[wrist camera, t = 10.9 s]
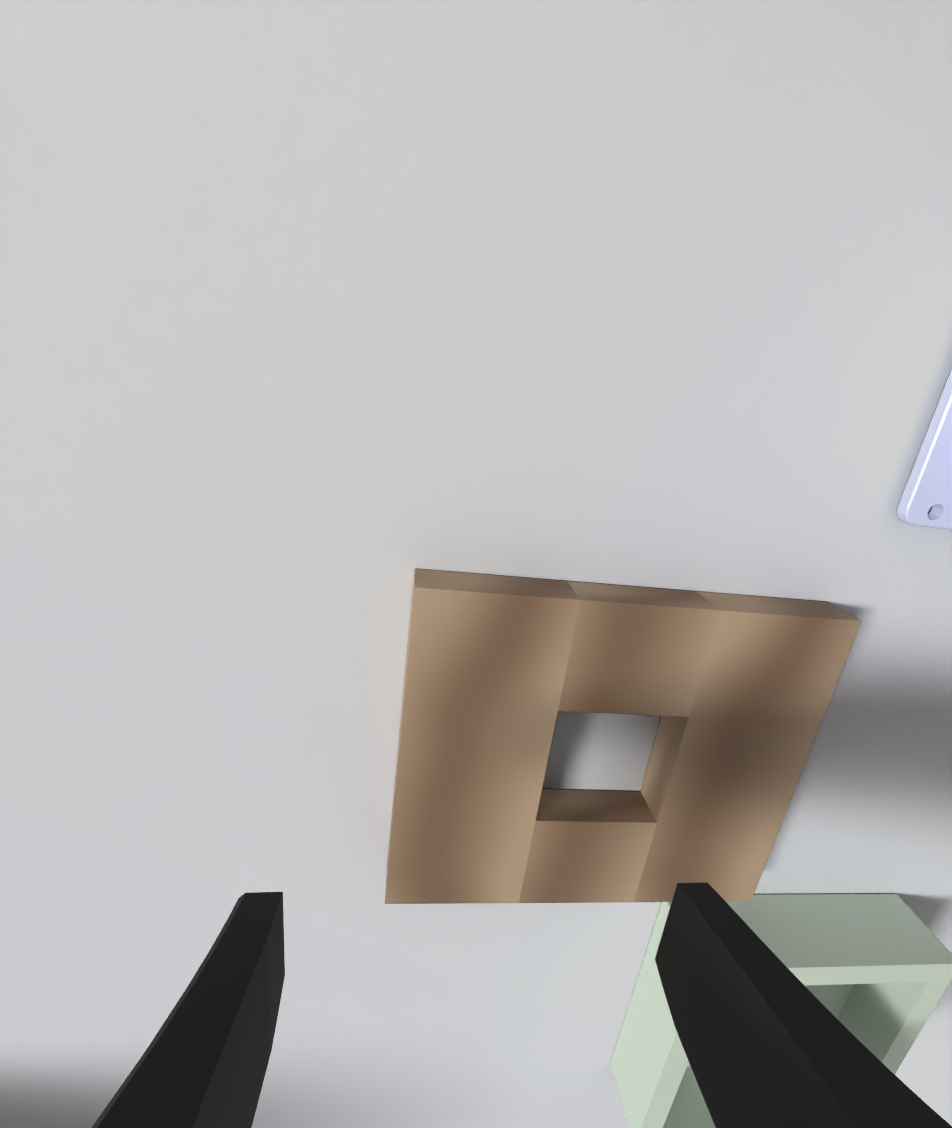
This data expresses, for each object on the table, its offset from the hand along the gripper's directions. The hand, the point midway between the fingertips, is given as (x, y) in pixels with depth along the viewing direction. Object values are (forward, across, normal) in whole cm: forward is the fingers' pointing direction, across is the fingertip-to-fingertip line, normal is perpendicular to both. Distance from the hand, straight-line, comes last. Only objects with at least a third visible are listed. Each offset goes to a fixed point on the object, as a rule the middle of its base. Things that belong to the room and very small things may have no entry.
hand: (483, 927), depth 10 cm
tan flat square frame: (+9, -5, +2) cm, 10 cm away
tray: (+9, -15, +16) cm, 23 cm away
